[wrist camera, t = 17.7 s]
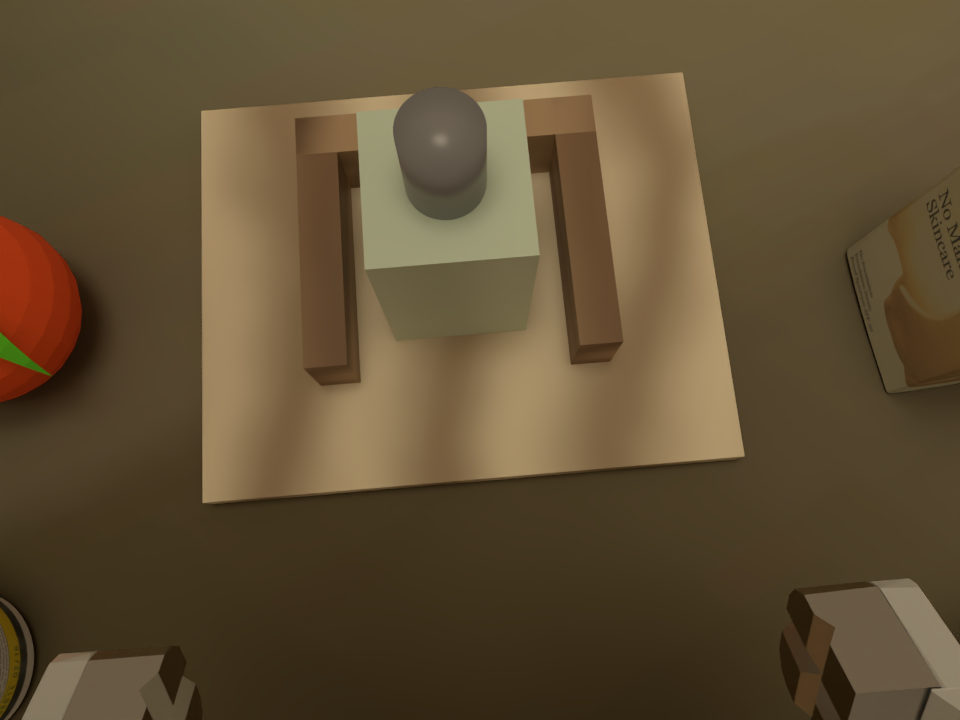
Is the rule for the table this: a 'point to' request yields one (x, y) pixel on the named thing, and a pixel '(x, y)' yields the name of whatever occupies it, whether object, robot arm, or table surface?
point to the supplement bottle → (14, 659)
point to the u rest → (467, 358)
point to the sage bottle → (448, 214)
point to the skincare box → (914, 289)
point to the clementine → (33, 310)
